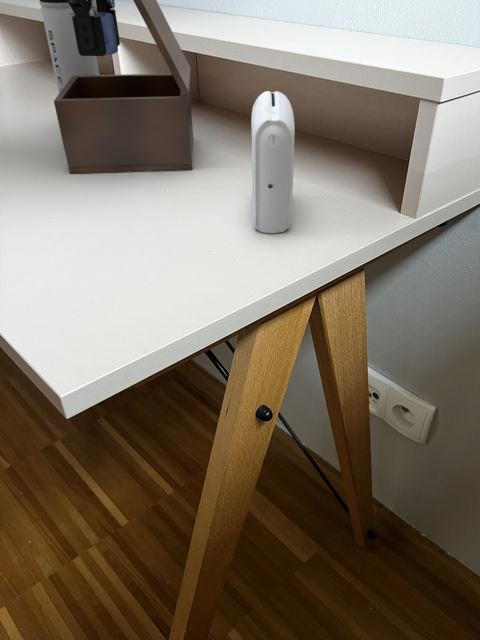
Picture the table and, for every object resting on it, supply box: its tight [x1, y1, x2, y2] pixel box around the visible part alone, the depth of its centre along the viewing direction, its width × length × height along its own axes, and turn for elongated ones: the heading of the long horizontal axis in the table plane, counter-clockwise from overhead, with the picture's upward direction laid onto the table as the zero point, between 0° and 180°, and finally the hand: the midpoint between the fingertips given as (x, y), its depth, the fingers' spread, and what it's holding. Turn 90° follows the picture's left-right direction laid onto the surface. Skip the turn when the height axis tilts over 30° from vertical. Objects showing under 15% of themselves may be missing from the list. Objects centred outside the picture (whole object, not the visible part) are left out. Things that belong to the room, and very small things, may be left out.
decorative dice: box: [97, 12, 119, 56], centre depth 67 cm, size 4×4×4 cm
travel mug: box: [39, 0, 100, 94], centre depth 80 cm, size 6×7×20 cm
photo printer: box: [250, 90, 296, 234], centre depth 58 cm, size 10×4×12 cm, turn 0°
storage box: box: [53, 73, 194, 175], centre depth 74 cm, size 16×13×9 cm
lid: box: [132, 0, 191, 95], centre depth 66 cm, size 16×13×6 cm
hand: (100, 48), depth 68 cm, fingers closed on decorative dice, 4 cm apart
